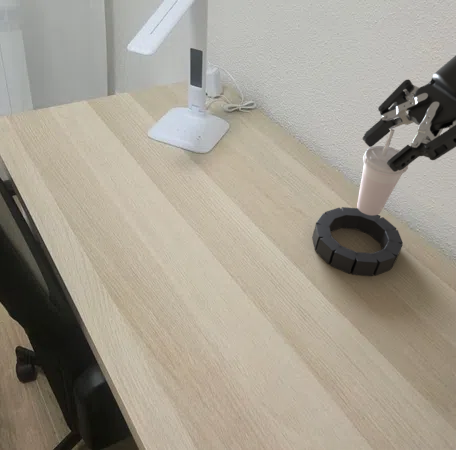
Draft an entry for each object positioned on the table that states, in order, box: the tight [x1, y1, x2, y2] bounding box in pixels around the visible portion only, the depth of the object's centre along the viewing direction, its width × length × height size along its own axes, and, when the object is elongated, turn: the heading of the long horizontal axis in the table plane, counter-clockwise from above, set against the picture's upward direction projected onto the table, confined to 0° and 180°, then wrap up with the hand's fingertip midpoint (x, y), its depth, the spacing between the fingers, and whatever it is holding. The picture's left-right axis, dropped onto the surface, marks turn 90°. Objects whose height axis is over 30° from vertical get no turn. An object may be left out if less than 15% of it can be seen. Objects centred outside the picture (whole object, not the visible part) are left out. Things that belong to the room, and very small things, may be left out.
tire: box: [311, 206, 404, 277], centre depth 92 cm, size 14×14×3 cm
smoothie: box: [356, 128, 409, 215], centre depth 83 cm, size 6×6×14 cm
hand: (378, 154), depth 80 cm, fingers closed on smoothie, 6 cm apart
